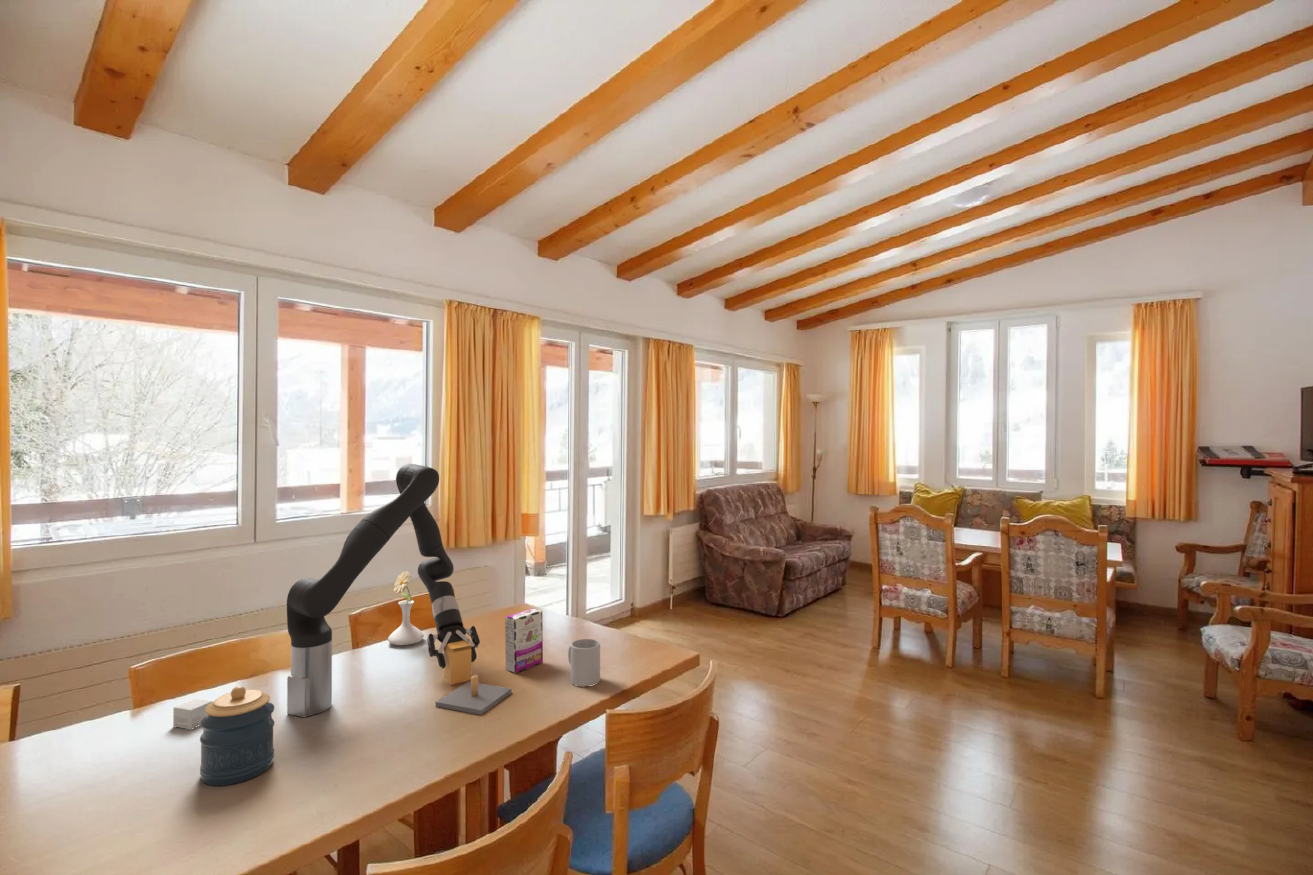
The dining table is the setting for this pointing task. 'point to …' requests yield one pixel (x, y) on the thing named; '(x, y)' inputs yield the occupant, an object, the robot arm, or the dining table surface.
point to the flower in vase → (405, 616)
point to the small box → (190, 713)
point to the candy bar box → (523, 640)
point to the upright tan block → (457, 662)
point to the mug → (584, 662)
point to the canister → (236, 737)
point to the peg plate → (474, 697)
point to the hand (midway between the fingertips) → (459, 663)
